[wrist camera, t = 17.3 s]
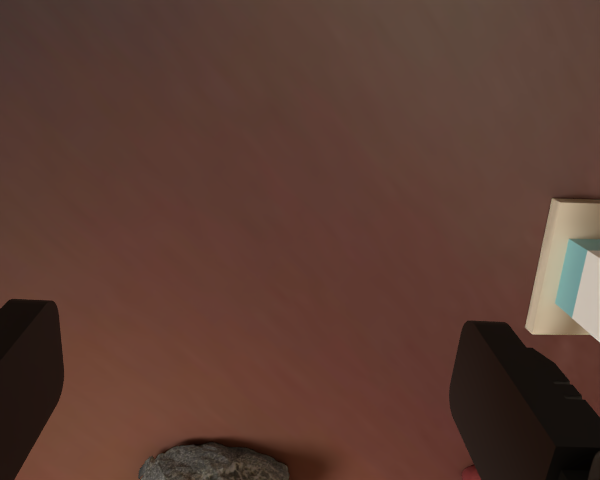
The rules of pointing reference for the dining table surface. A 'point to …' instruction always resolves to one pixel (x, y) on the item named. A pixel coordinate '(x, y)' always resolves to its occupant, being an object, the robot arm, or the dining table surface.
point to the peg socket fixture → (560, 263)
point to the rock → (212, 464)
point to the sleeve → (581, 284)
